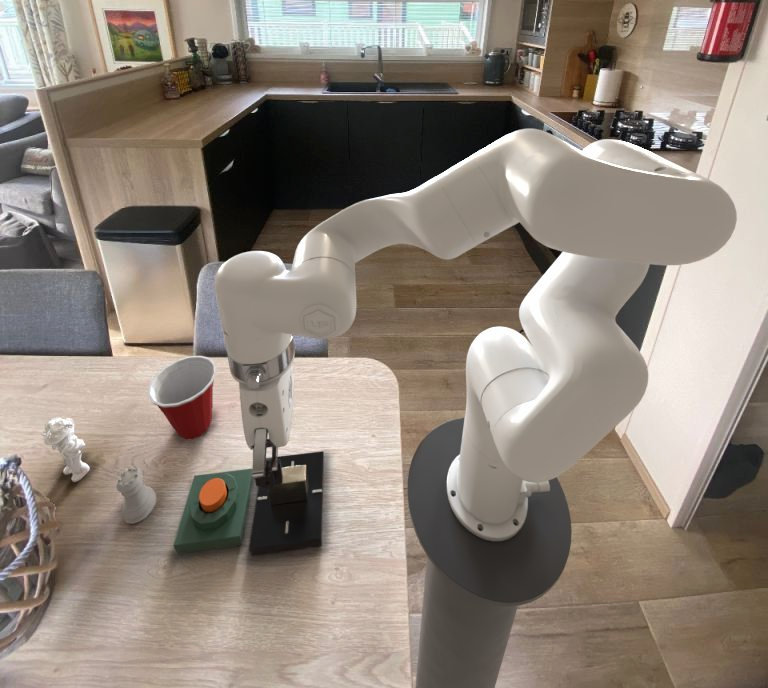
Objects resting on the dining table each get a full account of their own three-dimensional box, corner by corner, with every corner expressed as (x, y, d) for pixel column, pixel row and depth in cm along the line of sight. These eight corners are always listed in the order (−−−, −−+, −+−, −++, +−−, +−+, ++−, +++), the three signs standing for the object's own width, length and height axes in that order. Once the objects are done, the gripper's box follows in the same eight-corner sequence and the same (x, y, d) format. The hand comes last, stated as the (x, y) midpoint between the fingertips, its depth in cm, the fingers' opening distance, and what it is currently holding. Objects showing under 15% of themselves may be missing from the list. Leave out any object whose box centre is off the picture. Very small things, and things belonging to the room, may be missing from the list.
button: (229, 483, 60) (227, 476, 59) (223, 510, 57) (221, 503, 56) (205, 486, 60) (203, 479, 59) (197, 514, 56) (195, 507, 56)
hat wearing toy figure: (104, 473, 64) (83, 424, 60) (77, 496, 61) (53, 447, 57) (76, 445, 69) (54, 398, 64) (50, 466, 65) (25, 418, 61)
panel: (324, 458, 67) (323, 450, 66) (322, 546, 56) (321, 537, 55) (264, 465, 66) (263, 457, 65) (250, 556, 55) (248, 548, 54)
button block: (253, 476, 64) (250, 461, 63) (242, 544, 56) (238, 529, 54) (196, 483, 63) (192, 468, 62) (176, 554, 55) (170, 538, 53)
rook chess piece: (118, 528, 58) (103, 495, 55) (131, 494, 62) (118, 462, 59) (150, 522, 58) (137, 490, 55) (161, 489, 62) (150, 457, 59)
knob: (308, 484, 61) (305, 463, 59) (307, 500, 59) (305, 479, 57) (272, 489, 61) (269, 468, 59) (270, 505, 59) (266, 484, 57)
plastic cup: (228, 391, 78) (219, 346, 74) (223, 444, 69) (212, 396, 64) (169, 404, 76) (155, 359, 71) (155, 461, 66) (138, 413, 62)
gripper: (286, 415, 39) (298, 514, 46) (298, 299, 55) (306, 385, 61) (207, 423, 38) (231, 523, 45) (243, 302, 54) (257, 390, 61)
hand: (275, 443), depth 53 cm, fingers open, 9 cm apart
